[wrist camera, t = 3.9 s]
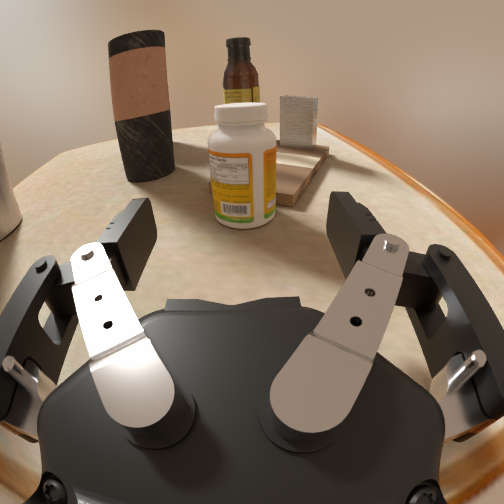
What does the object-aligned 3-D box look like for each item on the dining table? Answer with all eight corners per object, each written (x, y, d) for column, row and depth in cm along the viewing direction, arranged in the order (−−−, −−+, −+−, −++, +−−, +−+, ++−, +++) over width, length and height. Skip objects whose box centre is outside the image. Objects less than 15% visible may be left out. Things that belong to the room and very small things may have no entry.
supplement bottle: (258, 197, 27) (256, 100, 21) (287, 221, 23) (290, 105, 17) (206, 209, 25) (196, 106, 19) (227, 237, 21) (218, 109, 15)
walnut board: (292, 206, 25) (293, 195, 24) (209, 193, 28) (208, 182, 27) (328, 153, 40) (329, 146, 40) (275, 146, 43) (276, 140, 43)
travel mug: (187, 168, 35) (176, 28, 23) (138, 187, 31) (119, 32, 19) (160, 161, 39) (149, 41, 28) (117, 177, 35) (100, 48, 23)
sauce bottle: (249, 137, 50) (246, 41, 38) (268, 143, 46) (267, 37, 34) (219, 142, 47) (214, 41, 35) (236, 148, 43) (232, 34, 31)
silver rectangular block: (311, 150, 37) (313, 98, 33) (279, 146, 39) (280, 96, 34) (315, 146, 40) (317, 97, 35) (285, 142, 41) (286, 95, 36)
